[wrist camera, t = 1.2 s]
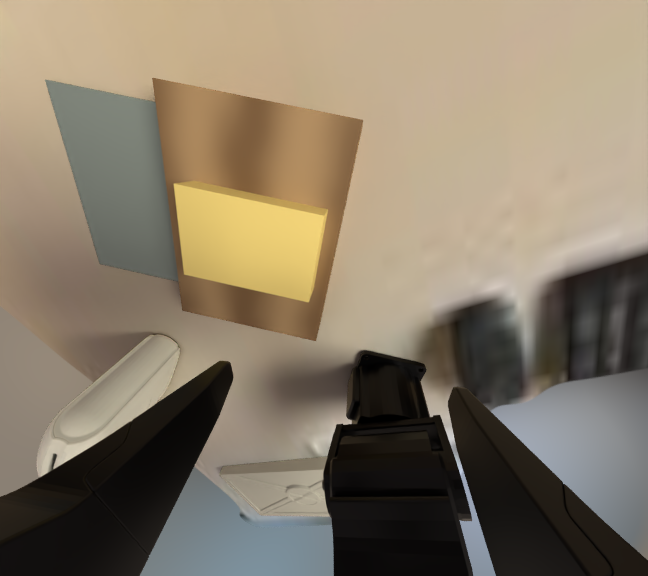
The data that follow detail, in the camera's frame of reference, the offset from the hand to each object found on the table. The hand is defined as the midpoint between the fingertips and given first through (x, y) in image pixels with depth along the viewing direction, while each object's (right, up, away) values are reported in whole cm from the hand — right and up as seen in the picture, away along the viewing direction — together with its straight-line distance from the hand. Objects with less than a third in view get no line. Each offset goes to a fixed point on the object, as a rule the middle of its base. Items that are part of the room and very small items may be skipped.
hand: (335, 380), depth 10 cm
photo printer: (-20, -5, +20) cm, 29 cm away
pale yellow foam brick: (-5, +7, +7) cm, 12 cm away
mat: (-16, +11, +10) cm, 22 cm away
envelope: (-3, -28, +30) cm, 41 cm away
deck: (-5, +9, +10) cm, 14 cm away
